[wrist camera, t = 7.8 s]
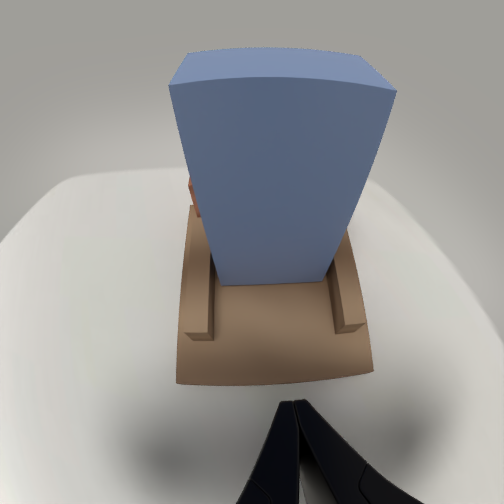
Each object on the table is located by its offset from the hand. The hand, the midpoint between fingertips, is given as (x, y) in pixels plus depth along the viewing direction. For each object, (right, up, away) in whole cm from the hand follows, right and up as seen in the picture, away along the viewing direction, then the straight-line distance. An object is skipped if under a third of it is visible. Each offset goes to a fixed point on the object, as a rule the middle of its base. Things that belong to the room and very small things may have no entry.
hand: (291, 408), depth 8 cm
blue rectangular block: (0, +5, +9) cm, 10 cm away
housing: (0, +3, +9) cm, 10 cm away
